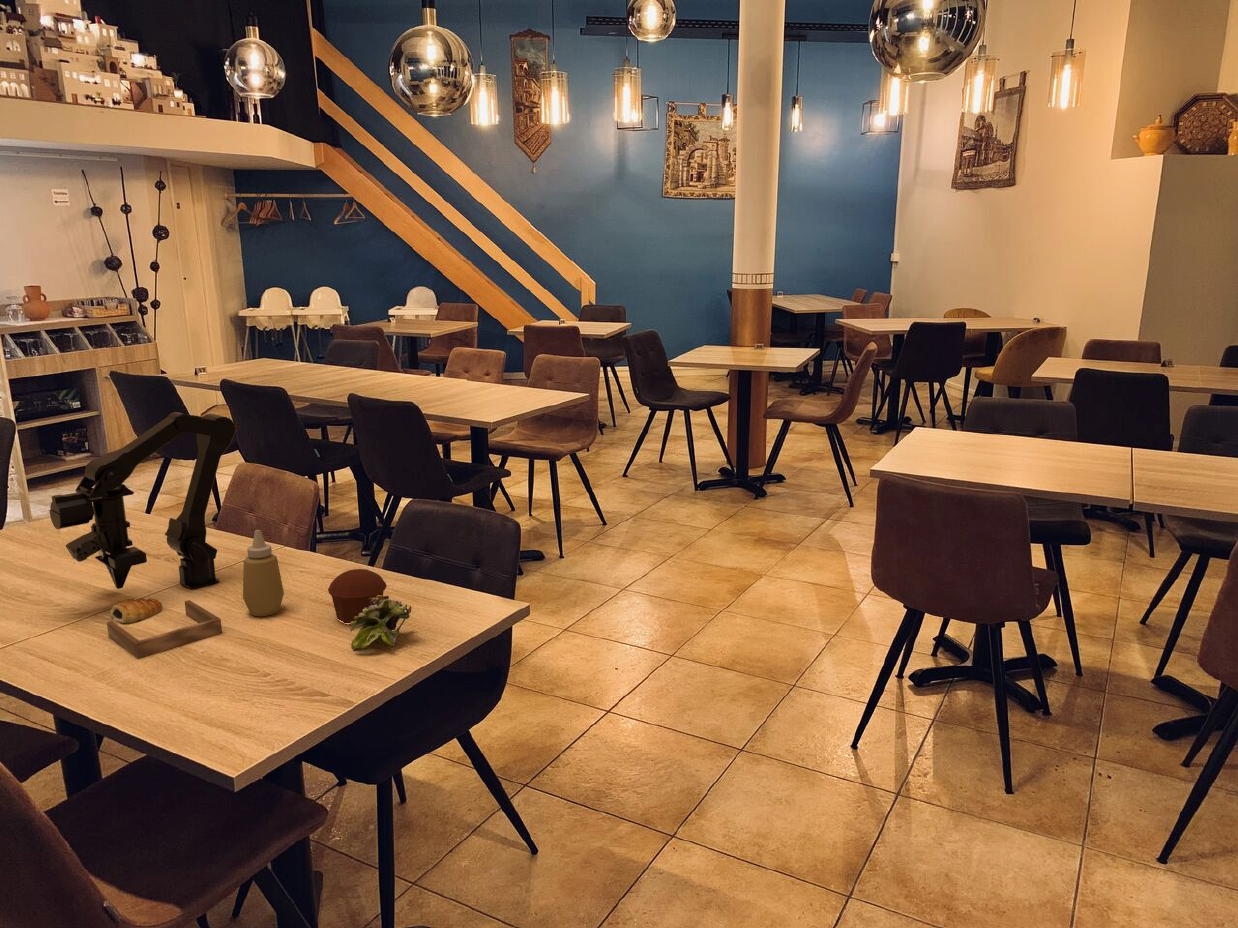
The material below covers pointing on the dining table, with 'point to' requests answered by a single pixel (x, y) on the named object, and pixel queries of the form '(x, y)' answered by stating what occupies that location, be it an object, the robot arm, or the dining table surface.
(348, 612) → the muffin
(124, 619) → the pastry
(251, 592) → the squeeze bottle
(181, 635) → the box
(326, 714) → the dining table surface
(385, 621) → the green leafy plant
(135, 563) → the robot arm
